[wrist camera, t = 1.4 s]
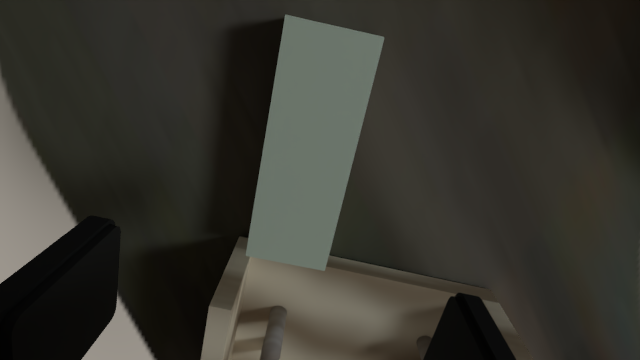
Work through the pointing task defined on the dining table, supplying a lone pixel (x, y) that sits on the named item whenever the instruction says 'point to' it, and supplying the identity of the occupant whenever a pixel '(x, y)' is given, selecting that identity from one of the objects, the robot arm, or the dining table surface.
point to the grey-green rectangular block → (310, 140)
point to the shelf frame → (331, 312)
